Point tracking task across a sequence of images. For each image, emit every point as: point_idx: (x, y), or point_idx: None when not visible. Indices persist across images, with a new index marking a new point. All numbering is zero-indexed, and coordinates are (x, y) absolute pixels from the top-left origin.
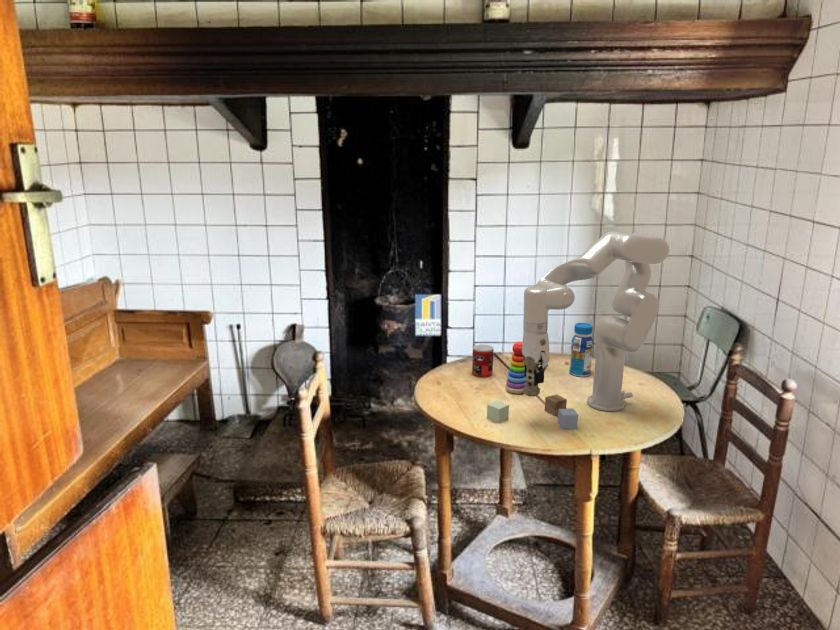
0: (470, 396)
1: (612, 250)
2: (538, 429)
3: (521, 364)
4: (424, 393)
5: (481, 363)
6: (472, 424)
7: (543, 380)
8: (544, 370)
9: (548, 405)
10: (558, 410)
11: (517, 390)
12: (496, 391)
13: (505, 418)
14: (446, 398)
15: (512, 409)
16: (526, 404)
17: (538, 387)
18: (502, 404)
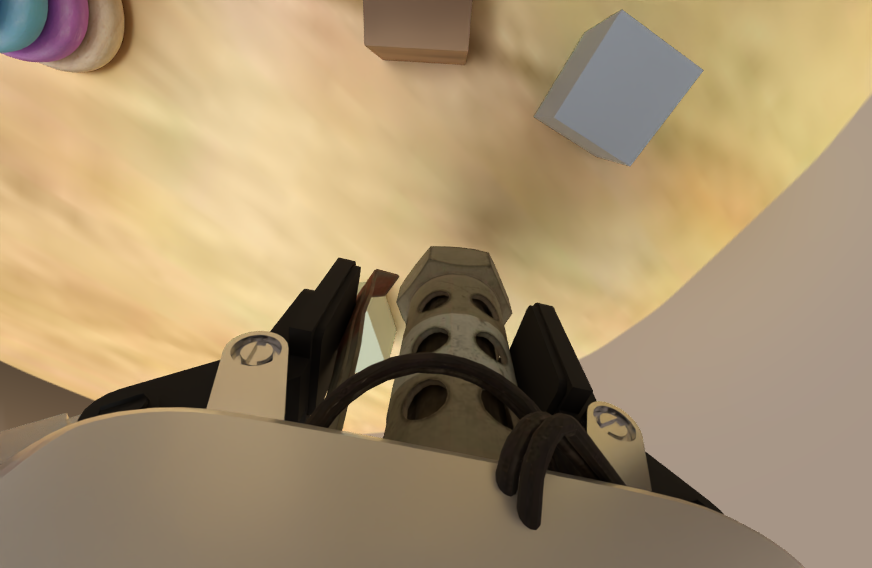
0: (121, 270)
1: None
2: (525, 245)
3: None
4: (69, 384)
5: None
6: (364, 397)
7: (555, 319)
8: (634, 435)
9: (407, 55)
10: (551, 117)
11: (106, 33)
12: (71, 123)
13: (384, 298)
14: (128, 351)
15: (307, 204)
16: (277, 96)
17: (485, 280)
18: None
